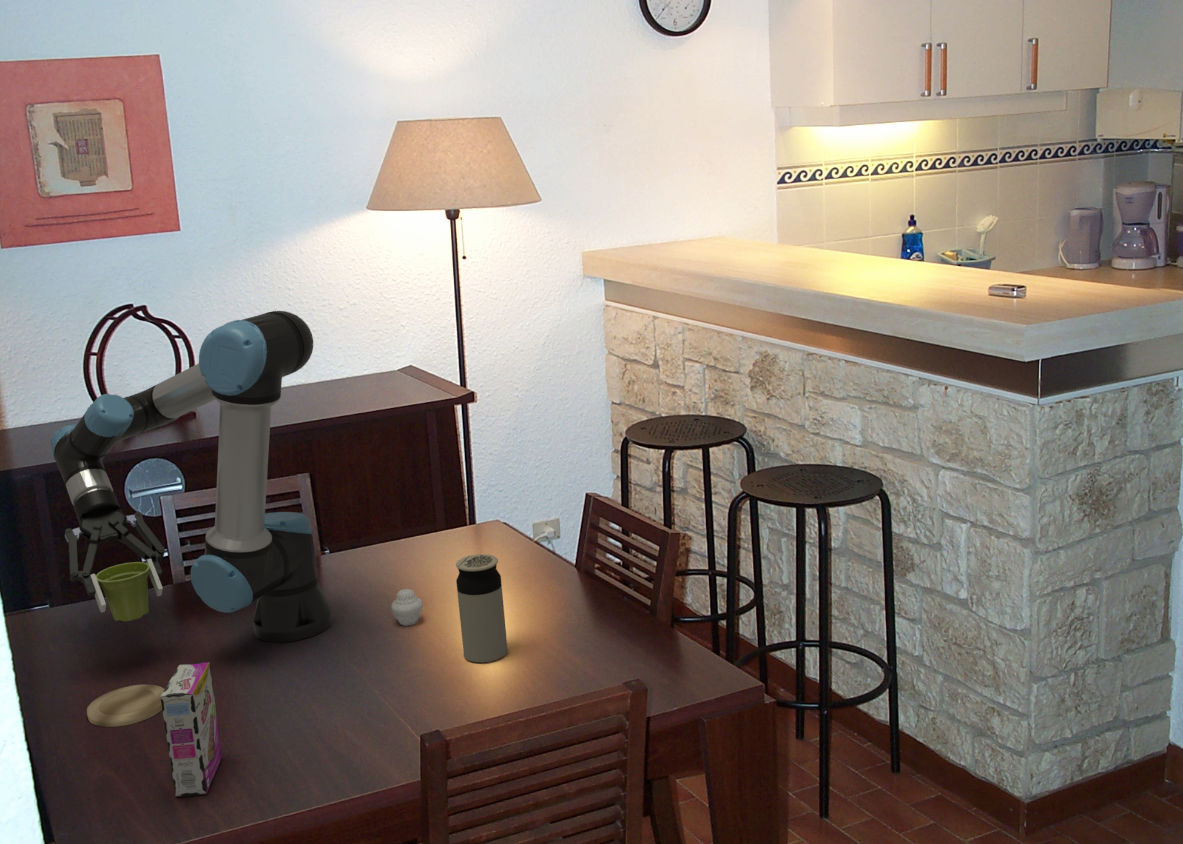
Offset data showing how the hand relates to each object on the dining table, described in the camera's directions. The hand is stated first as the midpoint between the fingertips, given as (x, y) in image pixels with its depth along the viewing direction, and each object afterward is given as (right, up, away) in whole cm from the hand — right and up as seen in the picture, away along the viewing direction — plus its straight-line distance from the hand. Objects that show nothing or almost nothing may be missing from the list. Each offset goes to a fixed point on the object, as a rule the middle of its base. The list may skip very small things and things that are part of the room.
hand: (132, 600), depth 215 cm
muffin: (+47, -7, +18) cm, 51 cm away
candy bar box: (+23, -22, -33) cm, 46 cm away
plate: (+3, -17, -9) cm, 20 cm away
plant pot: (-2, -3, +3) cm, 5 cm away
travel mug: (+64, -10, +2) cm, 64 cm away
